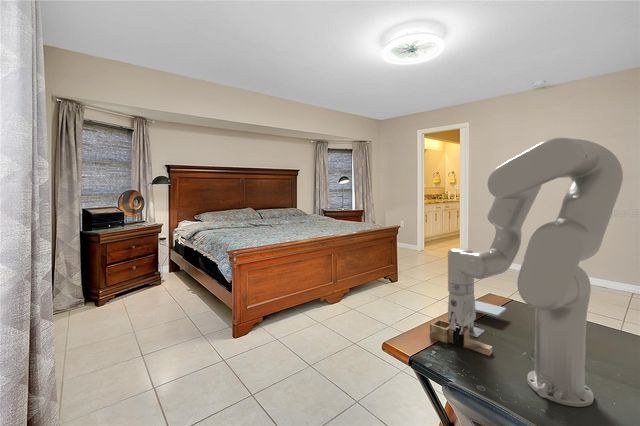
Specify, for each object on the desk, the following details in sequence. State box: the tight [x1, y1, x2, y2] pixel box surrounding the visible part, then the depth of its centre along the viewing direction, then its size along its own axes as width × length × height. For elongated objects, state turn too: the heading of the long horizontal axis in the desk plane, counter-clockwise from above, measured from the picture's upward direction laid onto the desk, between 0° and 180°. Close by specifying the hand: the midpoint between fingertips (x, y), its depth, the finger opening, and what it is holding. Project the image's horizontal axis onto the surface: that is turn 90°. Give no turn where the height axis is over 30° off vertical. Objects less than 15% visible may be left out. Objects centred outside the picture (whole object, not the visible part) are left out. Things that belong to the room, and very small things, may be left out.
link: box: [429, 318, 493, 357], centre depth 95 cm, size 18×6×5 cm, turn 40°
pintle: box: [469, 320, 486, 338], centre depth 103 cm, size 7×7×5 cm
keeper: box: [475, 300, 507, 318], centre depth 113 cm, size 9×11×4 cm
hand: (461, 342), depth 95 cm, fingers closed on link, 3 cm apart
